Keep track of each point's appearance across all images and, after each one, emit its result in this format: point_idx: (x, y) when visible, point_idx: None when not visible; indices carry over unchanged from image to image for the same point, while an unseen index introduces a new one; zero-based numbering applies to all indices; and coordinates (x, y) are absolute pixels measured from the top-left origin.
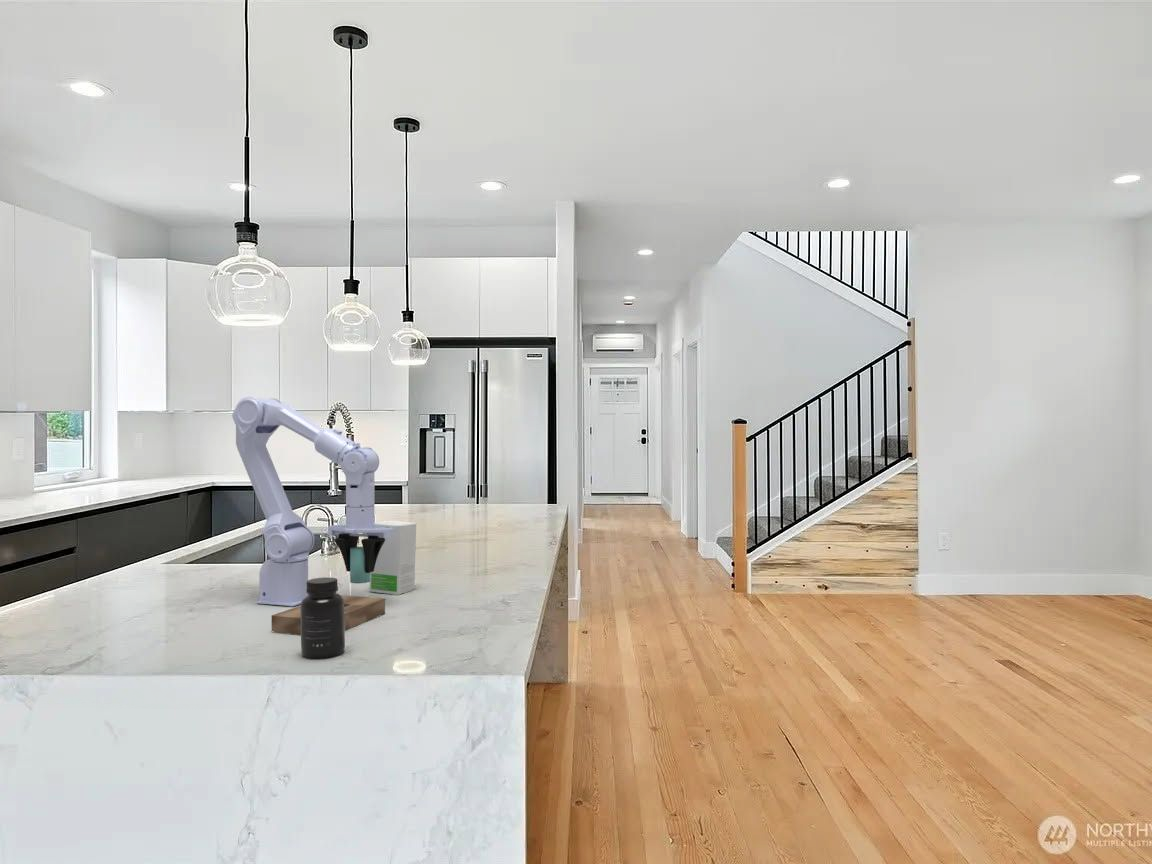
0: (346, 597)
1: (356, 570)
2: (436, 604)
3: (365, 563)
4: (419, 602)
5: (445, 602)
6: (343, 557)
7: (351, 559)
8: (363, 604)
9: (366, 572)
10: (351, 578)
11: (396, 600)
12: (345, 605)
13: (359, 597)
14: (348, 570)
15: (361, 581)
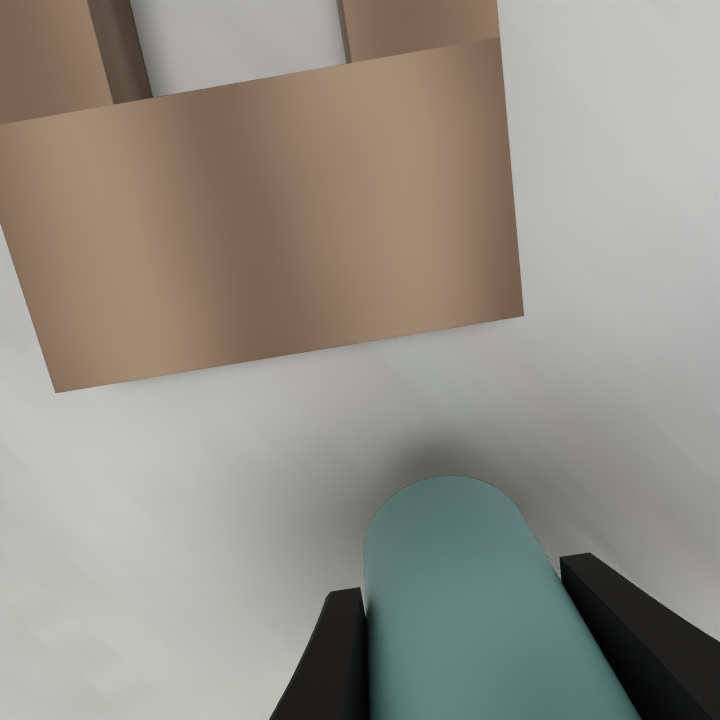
0: (352, 286)
1: (436, 552)
2: (32, 661)
3: (342, 651)
4: (153, 655)
5: (27, 713)
6: (708, 642)
7: (549, 636)
8: (28, 154)
9: (348, 591)
10: (482, 498)
11: (308, 635)
12: (179, 98)
13: (257, 332)
14: (569, 560)
15: (382, 513)
